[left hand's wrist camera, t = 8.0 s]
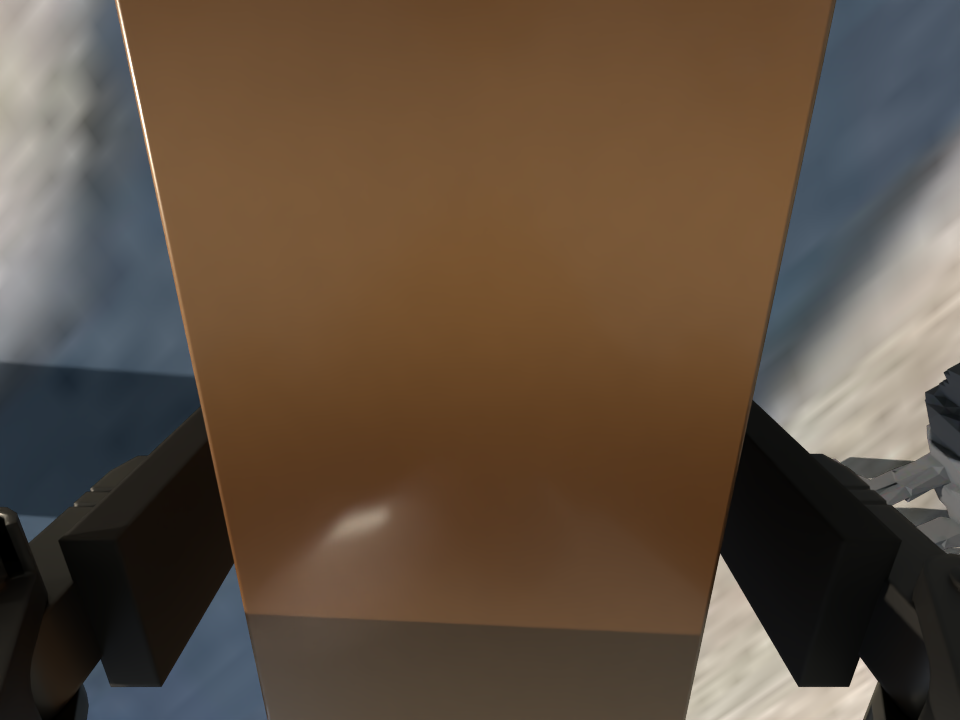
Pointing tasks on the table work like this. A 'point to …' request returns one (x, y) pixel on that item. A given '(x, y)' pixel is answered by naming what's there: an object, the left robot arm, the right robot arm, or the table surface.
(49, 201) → the table surface
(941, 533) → the toy
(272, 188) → the bar
